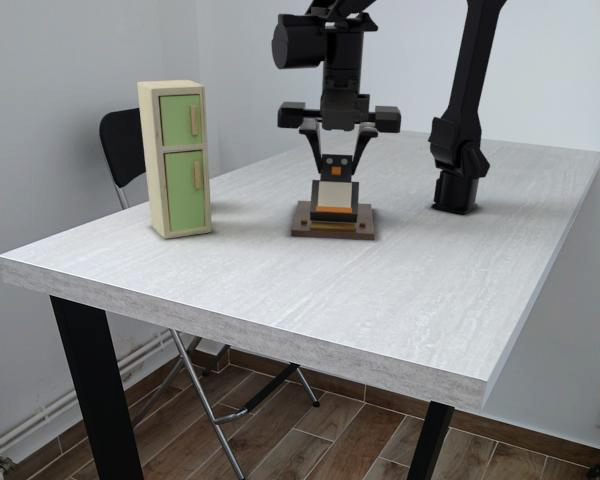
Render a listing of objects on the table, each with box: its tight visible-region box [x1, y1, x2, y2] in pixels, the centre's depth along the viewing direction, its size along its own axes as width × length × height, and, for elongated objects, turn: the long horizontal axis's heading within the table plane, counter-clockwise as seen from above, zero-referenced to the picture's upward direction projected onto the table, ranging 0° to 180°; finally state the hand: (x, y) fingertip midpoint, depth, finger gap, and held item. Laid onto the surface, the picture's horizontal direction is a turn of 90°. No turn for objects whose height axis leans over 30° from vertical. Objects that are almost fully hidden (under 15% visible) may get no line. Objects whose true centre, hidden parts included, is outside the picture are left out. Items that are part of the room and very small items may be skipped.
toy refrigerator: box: [136, 79, 213, 240], centre depth 96 cm, size 8×7×21 cm
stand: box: [290, 200, 375, 241], centre depth 107 cm, size 16×13×2 cm
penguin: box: [310, 153, 360, 223], centre depth 103 cm, size 11×8×3 cm
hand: (336, 174), depth 104 cm, fingers closed on penguin, 5 cm apart
